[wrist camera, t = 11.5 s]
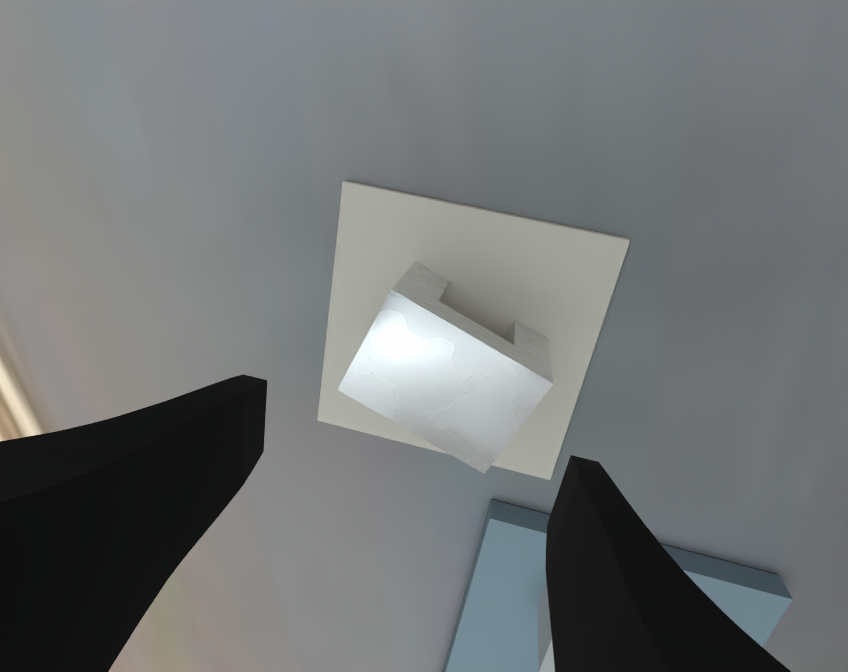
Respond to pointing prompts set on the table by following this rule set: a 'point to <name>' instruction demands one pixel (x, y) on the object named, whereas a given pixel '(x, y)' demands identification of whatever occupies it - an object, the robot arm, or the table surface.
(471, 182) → the table surface
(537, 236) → the cream mat
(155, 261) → the table surface
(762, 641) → the bench vise
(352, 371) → the grey notched block
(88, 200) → the table surface
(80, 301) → the table surface
